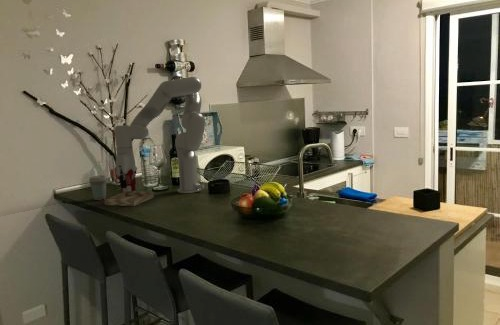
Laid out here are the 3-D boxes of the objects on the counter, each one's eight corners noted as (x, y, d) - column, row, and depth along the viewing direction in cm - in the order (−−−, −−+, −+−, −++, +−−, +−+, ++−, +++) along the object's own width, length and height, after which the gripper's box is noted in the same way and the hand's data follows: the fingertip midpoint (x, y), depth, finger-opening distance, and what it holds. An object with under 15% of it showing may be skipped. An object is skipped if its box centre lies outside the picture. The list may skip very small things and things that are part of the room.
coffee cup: (105, 200, 212) (102, 177, 210) (88, 201, 212) (86, 178, 211) (111, 197, 221) (108, 174, 219) (95, 197, 221) (92, 175, 219)
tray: (154, 197, 214) (153, 192, 213) (134, 206, 198) (133, 200, 197) (126, 196, 219) (125, 191, 219) (104, 204, 203) (104, 199, 203)
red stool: (131, 193, 204) (129, 169, 202) (119, 193, 205) (116, 169, 203) (138, 190, 210) (135, 167, 209) (125, 190, 212) (123, 167, 210)
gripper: (129, 148, 214) (132, 182, 217) (107, 153, 198) (110, 189, 200) (141, 148, 211) (144, 182, 214) (120, 153, 195) (123, 190, 198)
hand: (128, 185), depth 207 cm, fingers closed on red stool, 6 cm apart
